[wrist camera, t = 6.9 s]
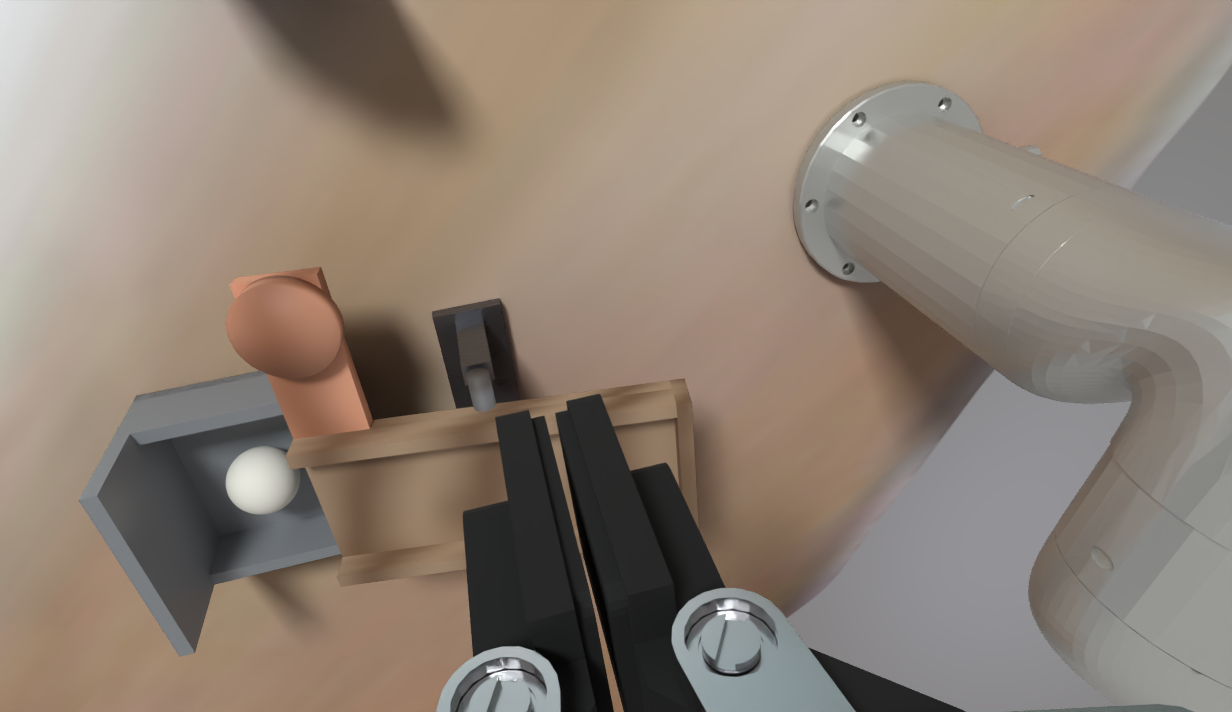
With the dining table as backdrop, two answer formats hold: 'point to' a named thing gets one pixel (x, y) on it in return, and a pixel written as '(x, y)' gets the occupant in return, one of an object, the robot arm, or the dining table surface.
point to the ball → (262, 480)
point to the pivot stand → (476, 349)
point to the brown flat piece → (414, 435)
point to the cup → (197, 499)
